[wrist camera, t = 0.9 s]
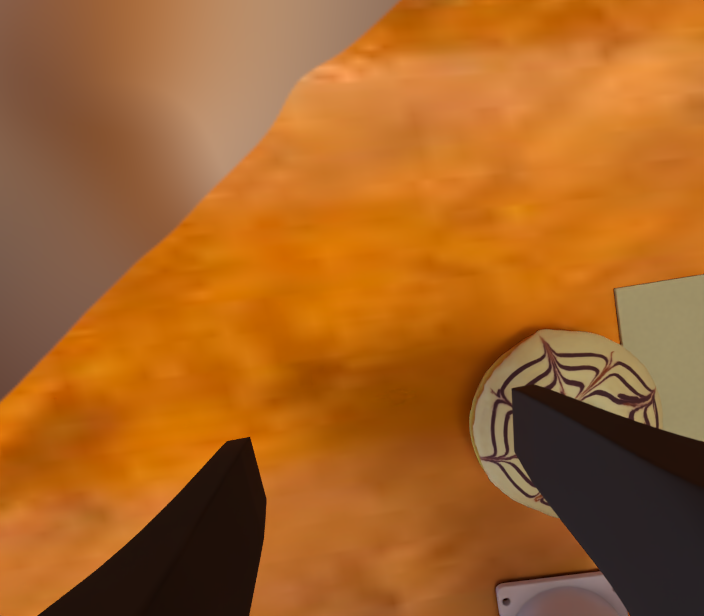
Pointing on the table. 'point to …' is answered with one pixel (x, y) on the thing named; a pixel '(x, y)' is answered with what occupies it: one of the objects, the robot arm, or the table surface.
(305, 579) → the table surface
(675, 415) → the placemat
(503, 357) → the decorated donut
